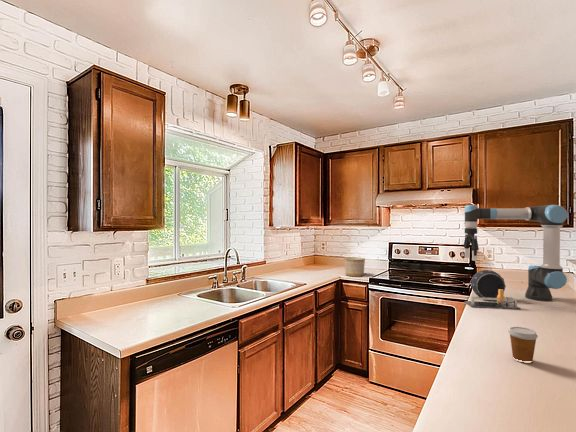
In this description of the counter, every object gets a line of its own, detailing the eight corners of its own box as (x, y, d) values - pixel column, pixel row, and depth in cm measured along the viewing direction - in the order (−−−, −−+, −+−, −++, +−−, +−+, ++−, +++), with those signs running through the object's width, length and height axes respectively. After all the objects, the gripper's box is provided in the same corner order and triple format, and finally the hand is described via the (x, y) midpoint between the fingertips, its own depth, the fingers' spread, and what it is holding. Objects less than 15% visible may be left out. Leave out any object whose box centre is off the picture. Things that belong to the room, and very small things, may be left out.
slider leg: (500, 304, 212) (500, 288, 212) (504, 306, 207) (504, 290, 207) (495, 303, 213) (495, 288, 213) (499, 306, 207) (499, 290, 207)
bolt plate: (510, 304, 217) (510, 302, 217) (520, 309, 205) (520, 307, 205) (464, 302, 221) (464, 300, 221) (471, 307, 209) (471, 305, 209)
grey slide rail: (513, 306, 211) (513, 296, 211) (517, 308, 206) (517, 298, 206) (469, 304, 215) (469, 294, 215) (472, 307, 210) (472, 296, 210)
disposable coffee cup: (502, 355, 137) (502, 326, 137) (524, 355, 138) (524, 326, 138) (520, 366, 128) (520, 335, 128) (543, 365, 128) (544, 334, 128)
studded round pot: (507, 302, 222) (507, 272, 222) (474, 300, 226) (474, 271, 226) (500, 298, 233) (500, 269, 232) (469, 296, 237) (469, 268, 237)
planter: (352, 272, 332) (352, 256, 332) (368, 275, 318) (368, 258, 318) (340, 275, 319) (340, 258, 319) (356, 278, 305) (356, 260, 305)
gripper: (458, 227, 239) (458, 256, 239) (472, 228, 214) (471, 261, 214) (469, 227, 237) (469, 257, 238) (484, 228, 213) (484, 261, 213)
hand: (470, 259), depth 226 cm, fingers open, 13 cm apart
